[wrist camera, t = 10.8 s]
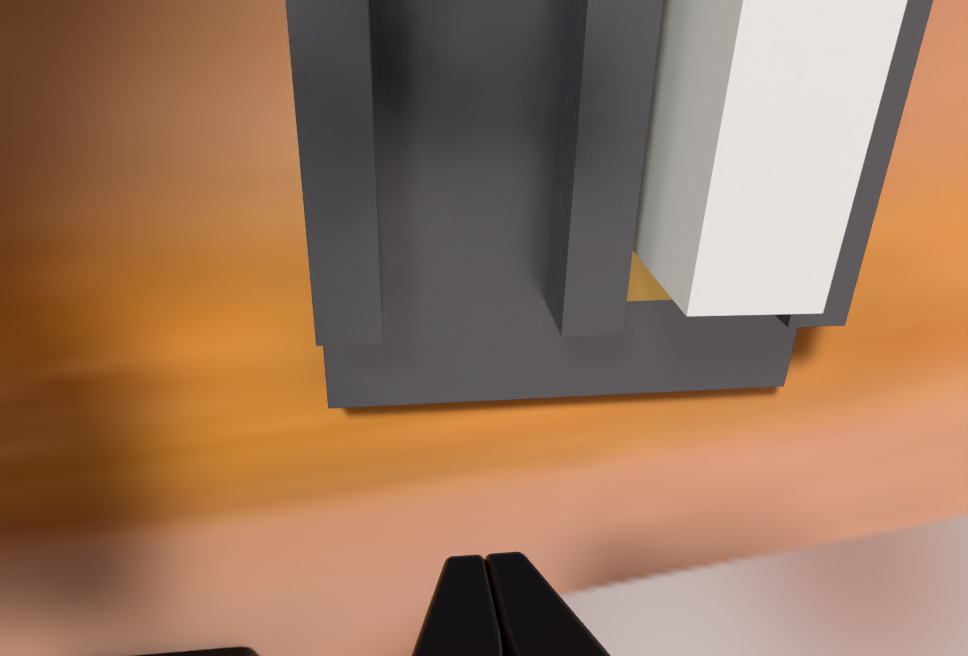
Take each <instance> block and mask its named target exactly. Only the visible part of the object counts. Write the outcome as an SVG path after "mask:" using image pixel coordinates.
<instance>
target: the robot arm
mask: <svg viewBox="0 0 968 656" xmlns="http://www.w3.org/2000/svg"><path fill="white" fill-rule="evenodd" d="M147 656H252V654H251V653H250V652H249V651H248V650H245V649H242V648H229V649H217V650H206V651H194V652H182V653H170V654H159V655H147ZM412 656H610V654H609V653H608V652H607V651H606V650H605V649H604V647H603V646H602V645H601V644H600V643H599V642H598V640H597V639H596V638H595V637H594V636H593V635H592V633H591V632H590V631H589V630H588V629H587V628H586V626H585V625H584V624H583V623H582V622H581V621H580V619H579V618H578V617H577V616H576V615H575V614H574V612H573V611H572V610H571V609H570V608H569V607H568V606H567V604H566V603H565V602H564V601H563V599H562V598H561V597H560V596H559V595H558V594H557V592H556V591H555V590H554V589H553V588H552V587H551V585H550V584H549V583H548V582H547V581H546V580H545V578H544V577H543V576H542V575H541V574H540V573H539V571H538V570H537V569H536V568H535V567H534V566H533V564H532V563H531V562H530V561H529V560H528V558H527V557H526V556H525V555H524V554H522V553H520V552H507V553H493V554H489V555H488V556H486V558H485V560H484V558H483V557H482V556H480V555H465V556H452V557H449V558H447V560H446V561H445V563H444V565H443V568H442V571H441V574H440V577H439V580H438V582H437V585H436V588H435V591H434V594H433V597H432V600H431V602H430V605H429V608H428V611H427V614H426V617H425V619H424V622H423V625H422V628H421V631H420V634H419V637H418V639H417V642H416V645H415V648H414V651H413V654H412Z"/></svg>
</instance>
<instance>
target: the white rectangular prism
mask: <svg viewBox="0 0 968 656" xmlns="http://www.w3.org/2000/svg"><path fill="white" fill-rule="evenodd" d="M906 4H907V0H663V5H662V14H661V22H660V30H659V38H658V47H657V55H656V63H655V71H654V80H653V88H652V96H651V104H650V113H649V121H648V129H647V137H646V146H645V154H644V162H643V170H642V179H641V187H640V195H639V203H638V212H637V220H636V228H635V236H634V245H633V252H634V253H635V254H636V255H637V257H638V258H639V259H640V260H641V261H642V263H643V264H644V265H645V266H646V268H647V269H648V270H649V271H650V272H651V274H652V275H653V276H654V277H655V279H656V280H657V281H658V282H659V283H660V285H661V286H662V287H663V288H664V290H665V291H666V292H667V293H668V294H669V296H670V297H671V298H672V299H673V301H674V302H675V303H676V304H677V305H678V307H679V308H680V309H681V310H682V312H683V313H684V314H685V315H686V316H730V315H776V314H822V313H823V311H824V308H825V304H826V300H827V297H828V293H829V289H830V285H831V282H832V278H833V274H834V271H835V267H836V263H837V259H838V256H839V252H840V248H841V245H842V241H843V237H844V234H845V230H846V226H847V222H848V219H849V215H850V211H851V208H852V204H853V200H854V197H855V193H856V189H857V185H858V182H859V178H860V174H861V171H862V167H863V163H864V160H865V156H866V152H867V148H868V145H869V141H870V137H871V134H872V130H873V126H874V123H875V119H876V115H877V111H878V108H879V104H880V100H881V97H882V93H883V89H884V86H885V82H886V78H887V74H888V71H889V67H890V63H891V60H892V56H893V52H894V49H895V45H896V41H897V37H898V34H899V30H900V26H901V23H902V19H903V15H904V12H905V8H906Z"/></svg>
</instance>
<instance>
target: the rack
mask: <svg viewBox="0 0 968 656" xmlns="http://www.w3.org/2000/svg"><path fill="white" fill-rule="evenodd" d="M932 3H933V0H907V4H906V8H905V12H904V15H903V19H902V23H901V26H900V30H899V34H898V37H897V41H896V45H895V49H894V52H893V56H892V60H891V63H890V67H889V71H888V74H887V78H886V82H885V86H884V89H883V93H882V97H881V100H880V104H879V108H878V111H877V115H876V119H875V123H874V126H873V130H872V134H871V137H870V141H869V145H868V148H867V152H866V156H865V160H864V163H863V167H862V171H861V174H860V178H859V182H858V185H857V189H856V193H855V197H854V200H853V204H852V208H851V211H850V215H849V219H848V222H847V226H846V230H845V234H844V237H843V241H842V245H841V248H840V252H839V256H838V259H837V263H836V267H835V271H834V274H833V278H832V282H831V285H830V289H829V293H828V297H827V300H826V304H825V308H824V311H823V313H822V314H776V315H730V316H686V315H685V314H684V313H683V312H682V310H681V309H680V308H679V307H678V305H677V304H676V303H675V302H674V301H673V299H672V298H671V297H670V296H669V294H668V293H667V292H666V291H665V290H664V288H663V287H662V286H661V285H660V283H659V282H658V281H657V280H656V279H655V277H654V276H653V275H652V274H651V272H650V271H649V270H648V269H647V268H646V266H645V265H644V264H643V263H642V261H641V260H640V259H639V258H638V257H637V255H636V254H635V253H634V252H633V245H634V236H635V228H636V220H637V212H638V203H639V195H640V187H641V179H642V170H643V162H644V154H645V146H646V137H647V129H648V121H649V113H650V104H651V96H652V88H653V80H654V71H655V63H656V55H657V47H658V38H659V30H660V22H661V14H662V5H663V0H286V10H287V21H288V33H289V44H290V55H291V67H292V78H293V89H294V100H295V112H296V123H297V134H298V145H299V157H300V168H301V179H302V190H303V202H304V213H305V224H306V236H307V247H308V258H309V269H310V281H311V292H312V303H313V314H314V326H315V337H316V346H323V351H324V363H325V375H326V386H327V398H328V408H347V407H368V406H388V405H409V404H429V403H450V402H471V401H491V400H512V399H532V398H553V397H574V396H594V395H615V394H635V393H656V392H676V391H697V390H718V389H738V388H759V387H779V386H784V383H785V379H786V375H787V371H788V366H789V362H790V358H791V354H792V350H793V346H794V341H795V337H796V333H797V329H798V327H818V326H844V325H845V323H846V319H847V316H848V312H849V308H850V305H851V301H852V297H853V293H854V290H855V286H856V282H857V279H858V275H859V271H860V268H861V264H862V260H863V257H864V253H865V249H866V246H867V242H868V238H869V235H870V231H871V227H872V224H873V220H874V216H875V212H876V209H877V205H878V201H879V198H880V194H881V190H882V187H883V183H884V179H885V176H886V172H887V168H888V165H889V161H890V157H891V154H892V150H893V146H894V142H895V139H896V135H897V131H898V128H899V124H900V120H901V117H902V113H903V109H904V106H905V102H906V98H907V95H908V91H909V87H910V84H911V80H912V76H913V73H914V69H915V65H916V61H917V58H918V54H919V50H920V47H921V43H922V39H923V36H924V32H925V28H926V25H927V21H928V17H929V14H930V10H931V6H932Z"/></svg>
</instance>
